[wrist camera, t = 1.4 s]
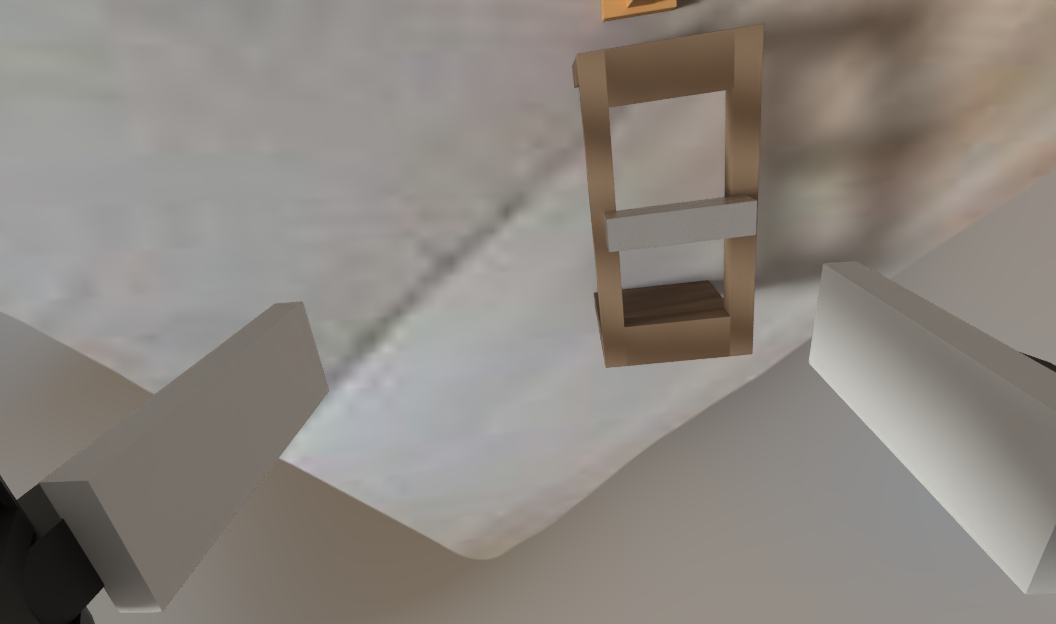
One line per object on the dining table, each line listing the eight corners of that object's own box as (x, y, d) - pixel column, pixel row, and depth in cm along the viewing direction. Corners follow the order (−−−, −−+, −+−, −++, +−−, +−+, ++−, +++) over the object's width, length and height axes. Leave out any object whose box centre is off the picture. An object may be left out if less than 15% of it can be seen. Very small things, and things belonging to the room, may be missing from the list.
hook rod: (603, 212, 31) (606, 219, 29) (745, 194, 30) (757, 200, 28) (606, 243, 32) (609, 252, 30) (744, 227, 31) (755, 234, 29)
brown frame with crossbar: (572, 66, 38) (577, 53, 28) (707, 44, 37) (763, 23, 27) (595, 308, 46) (605, 367, 35) (708, 296, 44) (752, 354, 34)
